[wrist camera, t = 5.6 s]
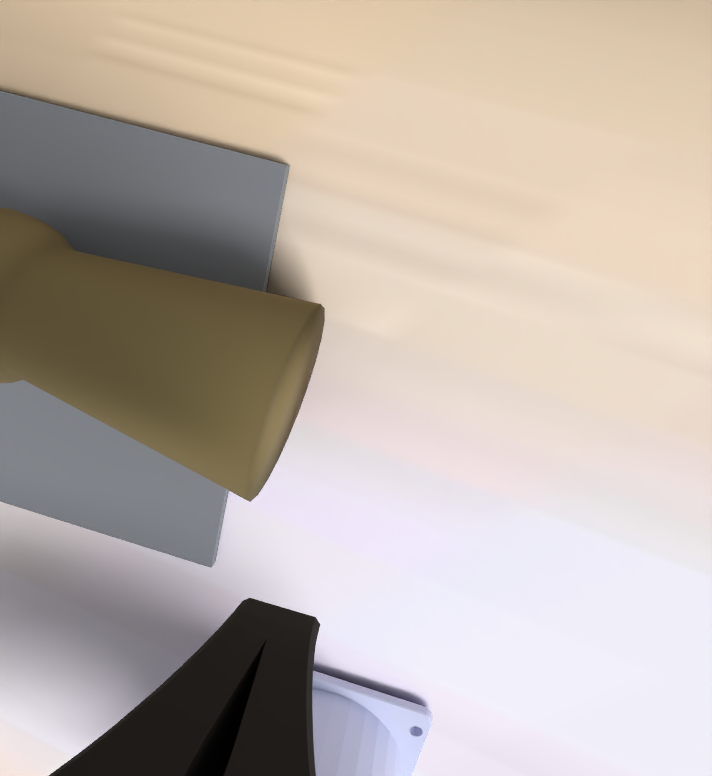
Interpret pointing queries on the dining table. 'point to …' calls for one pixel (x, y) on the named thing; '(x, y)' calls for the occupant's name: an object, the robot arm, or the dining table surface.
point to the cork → (157, 352)
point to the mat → (138, 246)
